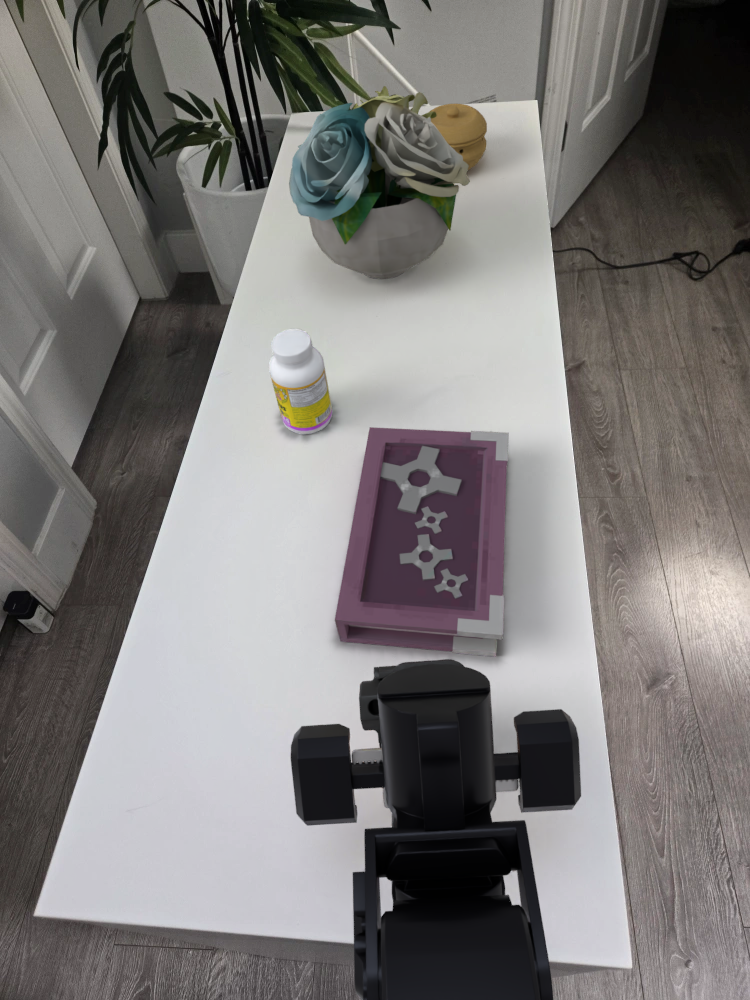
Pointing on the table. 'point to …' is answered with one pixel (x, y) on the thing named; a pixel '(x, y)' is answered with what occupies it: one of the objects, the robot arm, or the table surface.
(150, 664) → the table surface
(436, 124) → the pot
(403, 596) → the book
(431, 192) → the flower arrangement
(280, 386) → the supplement bottle
